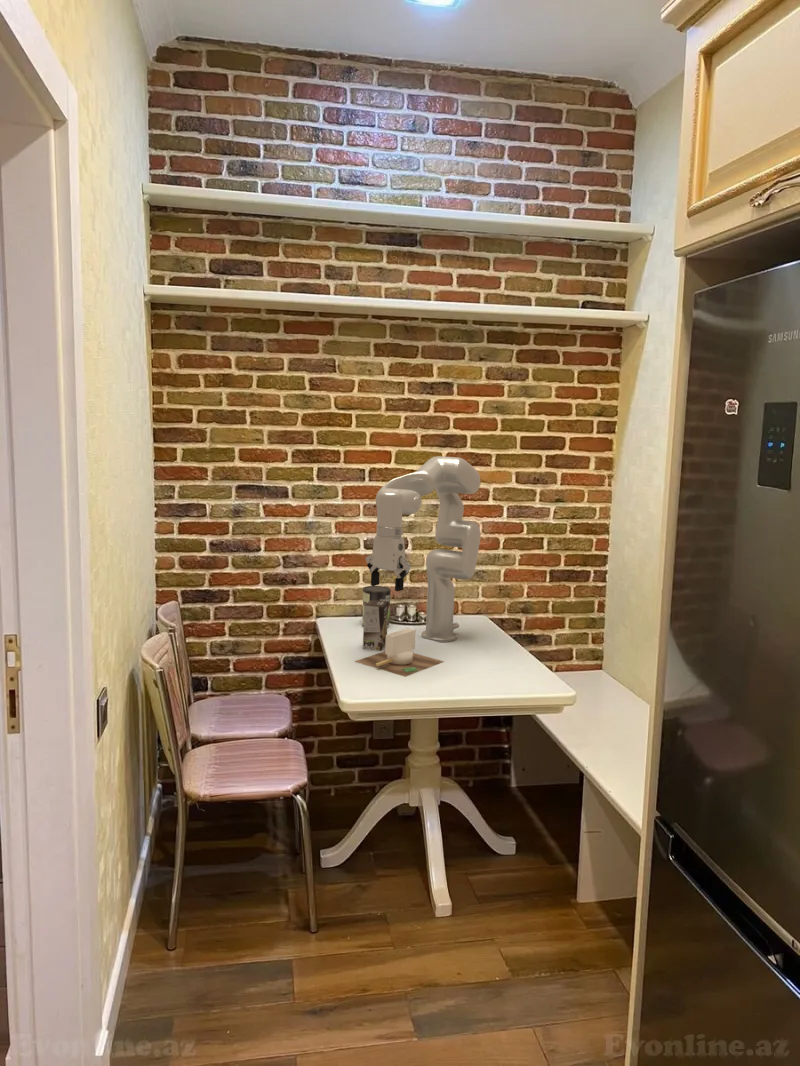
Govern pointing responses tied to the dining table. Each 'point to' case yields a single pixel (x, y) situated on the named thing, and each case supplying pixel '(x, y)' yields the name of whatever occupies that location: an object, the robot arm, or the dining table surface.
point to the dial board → (403, 670)
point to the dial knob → (399, 647)
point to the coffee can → (376, 597)
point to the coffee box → (375, 625)
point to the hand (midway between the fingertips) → (386, 587)
